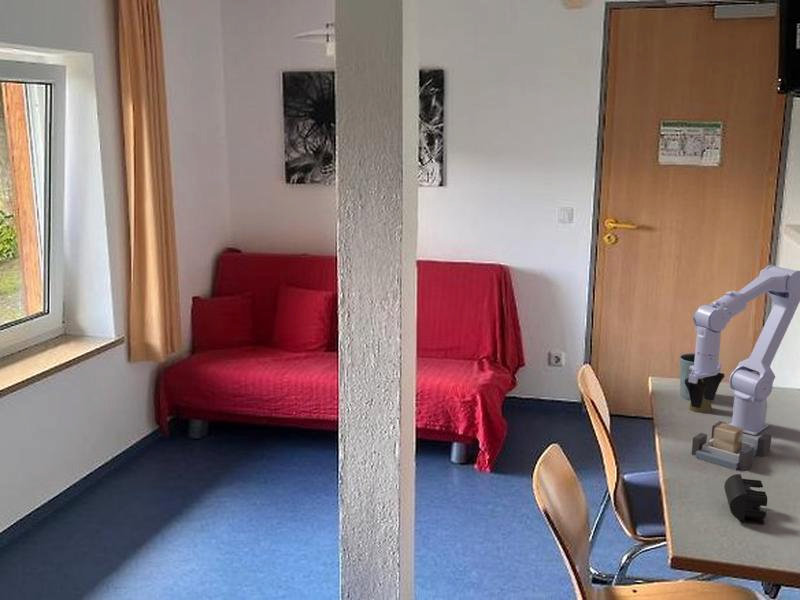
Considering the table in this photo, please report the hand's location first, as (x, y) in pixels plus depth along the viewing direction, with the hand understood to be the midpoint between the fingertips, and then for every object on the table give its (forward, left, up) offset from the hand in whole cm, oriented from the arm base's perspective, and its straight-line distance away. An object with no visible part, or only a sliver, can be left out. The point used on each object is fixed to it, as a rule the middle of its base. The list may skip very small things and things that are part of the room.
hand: (702, 403), depth 215 cm
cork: (-20, -9, -10) cm, 24 cm away
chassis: (+4, +10, -9) cm, 14 cm away
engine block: (+6, +10, -8) cm, 14 cm away
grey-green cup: (-29, -15, -10) cm, 34 cm away
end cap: (+33, +25, -10) cm, 43 cm away
